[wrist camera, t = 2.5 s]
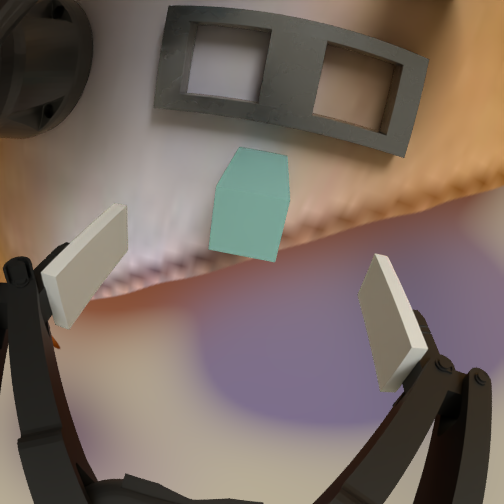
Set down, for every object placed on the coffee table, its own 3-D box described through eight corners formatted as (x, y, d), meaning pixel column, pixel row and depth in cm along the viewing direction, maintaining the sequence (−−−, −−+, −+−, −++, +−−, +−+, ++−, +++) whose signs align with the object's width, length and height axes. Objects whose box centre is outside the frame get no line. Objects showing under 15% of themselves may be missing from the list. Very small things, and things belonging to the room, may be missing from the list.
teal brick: (232, 190, 27) (208, 249, 19) (239, 146, 25) (216, 186, 17) (278, 199, 27) (275, 262, 19) (287, 155, 25) (290, 200, 17)
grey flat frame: (162, 105, 24) (153, 108, 22) (176, 10, 19) (168, 5, 18) (396, 152, 24) (404, 158, 22) (419, 59, 20) (429, 59, 18)
